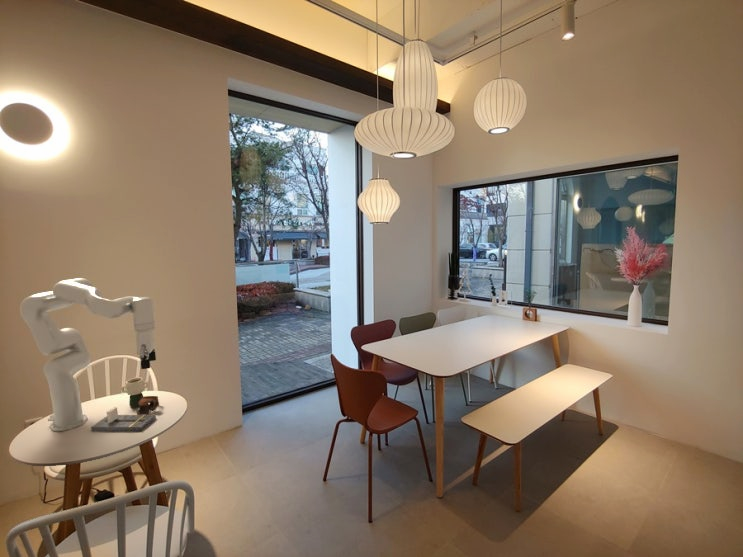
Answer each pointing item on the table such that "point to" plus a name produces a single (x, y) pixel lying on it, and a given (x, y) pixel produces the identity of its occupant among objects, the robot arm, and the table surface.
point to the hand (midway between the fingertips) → (148, 364)
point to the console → (125, 423)
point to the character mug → (135, 390)
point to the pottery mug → (144, 406)
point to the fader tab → (112, 414)
